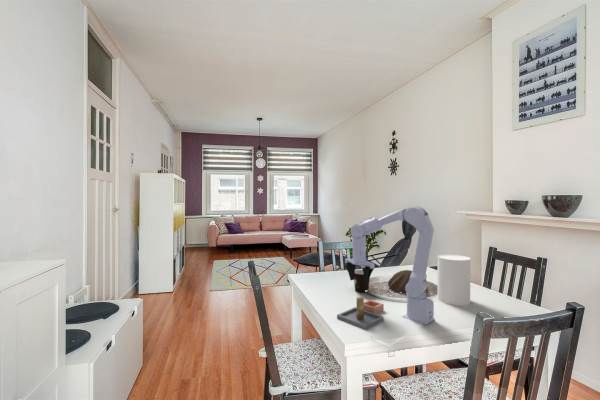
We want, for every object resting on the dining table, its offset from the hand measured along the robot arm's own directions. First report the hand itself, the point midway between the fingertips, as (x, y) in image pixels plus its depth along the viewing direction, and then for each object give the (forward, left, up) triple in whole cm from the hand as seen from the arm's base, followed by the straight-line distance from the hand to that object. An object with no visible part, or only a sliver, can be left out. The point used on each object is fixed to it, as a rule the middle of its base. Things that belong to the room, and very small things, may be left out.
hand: (359, 281), depth 133 cm
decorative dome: (-3, -37, -11) cm, 39 cm away
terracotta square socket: (-8, +2, -10) cm, 13 cm away
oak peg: (-10, +13, -10) cm, 19 cm away
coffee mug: (+11, -17, -11) cm, 23 cm away
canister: (-26, -37, -11) cm, 46 cm away
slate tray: (-10, +13, -10) cm, 19 cm away
